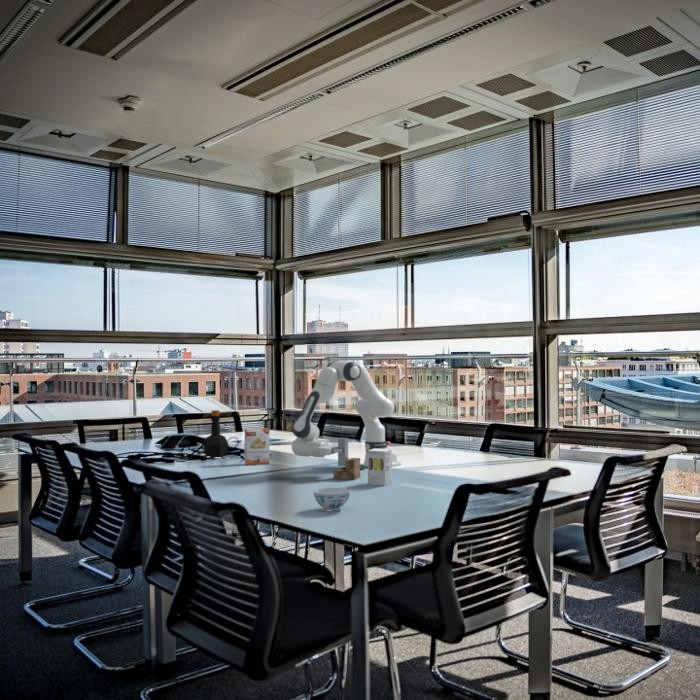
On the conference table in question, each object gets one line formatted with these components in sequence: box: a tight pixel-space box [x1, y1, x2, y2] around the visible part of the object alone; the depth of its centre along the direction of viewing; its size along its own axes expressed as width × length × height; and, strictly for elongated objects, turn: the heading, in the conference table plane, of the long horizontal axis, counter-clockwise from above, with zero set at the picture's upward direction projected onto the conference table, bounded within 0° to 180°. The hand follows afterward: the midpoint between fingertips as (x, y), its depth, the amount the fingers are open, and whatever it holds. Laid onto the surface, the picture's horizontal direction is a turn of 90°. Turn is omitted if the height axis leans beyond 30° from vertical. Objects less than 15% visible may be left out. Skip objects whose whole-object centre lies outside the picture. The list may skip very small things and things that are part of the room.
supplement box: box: [367, 448, 393, 487], centre depth 350 cm, size 10×9×17 cm
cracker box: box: [244, 428, 270, 466], centre depth 422 cm, size 14×6×21 cm, turn 112°
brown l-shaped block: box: [333, 457, 361, 481], centre depth 368 cm, size 12×8×10 cm
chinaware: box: [312, 486, 351, 511], centre depth 291 cm, size 15×15×8 cm
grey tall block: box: [337, 437, 349, 467], centre depth 369 cm, size 4×4×14 cm
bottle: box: [203, 409, 229, 457], centre depth 453 cm, size 16×16×30 cm
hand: (344, 450), depth 369 cm, fingers closed on grey tall block, 4 cm apart
